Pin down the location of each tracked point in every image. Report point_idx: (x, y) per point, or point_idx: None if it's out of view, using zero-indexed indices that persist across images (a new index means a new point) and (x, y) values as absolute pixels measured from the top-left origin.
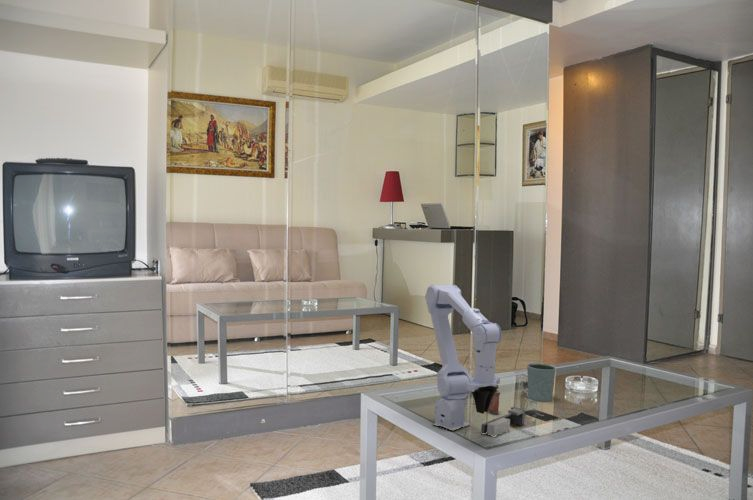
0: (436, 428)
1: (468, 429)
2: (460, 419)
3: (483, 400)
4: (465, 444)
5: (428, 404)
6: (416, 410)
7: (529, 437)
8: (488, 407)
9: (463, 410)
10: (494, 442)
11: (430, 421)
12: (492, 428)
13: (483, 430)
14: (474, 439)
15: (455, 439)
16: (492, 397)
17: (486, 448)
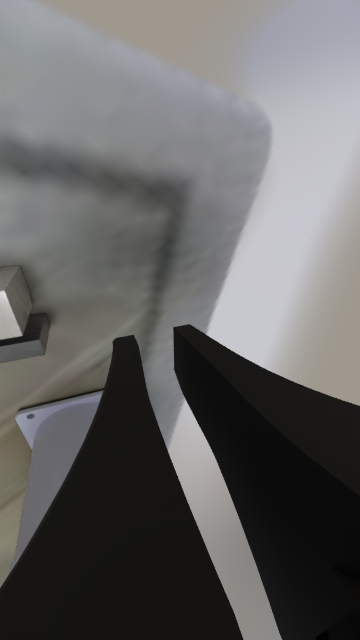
0: (158, 414)
1: (60, 381)
2: (88, 426)
3: (298, 387)
4: (207, 277)
5: (11, 556)
6: None
7: None
8: (127, 354)
9: (69, 465)
10: (75, 217)
11: None
12: (14, 294)
13: (44, 326)
14: (132, 296)
15: None
16: (88, 450)
17: (180, 192)
